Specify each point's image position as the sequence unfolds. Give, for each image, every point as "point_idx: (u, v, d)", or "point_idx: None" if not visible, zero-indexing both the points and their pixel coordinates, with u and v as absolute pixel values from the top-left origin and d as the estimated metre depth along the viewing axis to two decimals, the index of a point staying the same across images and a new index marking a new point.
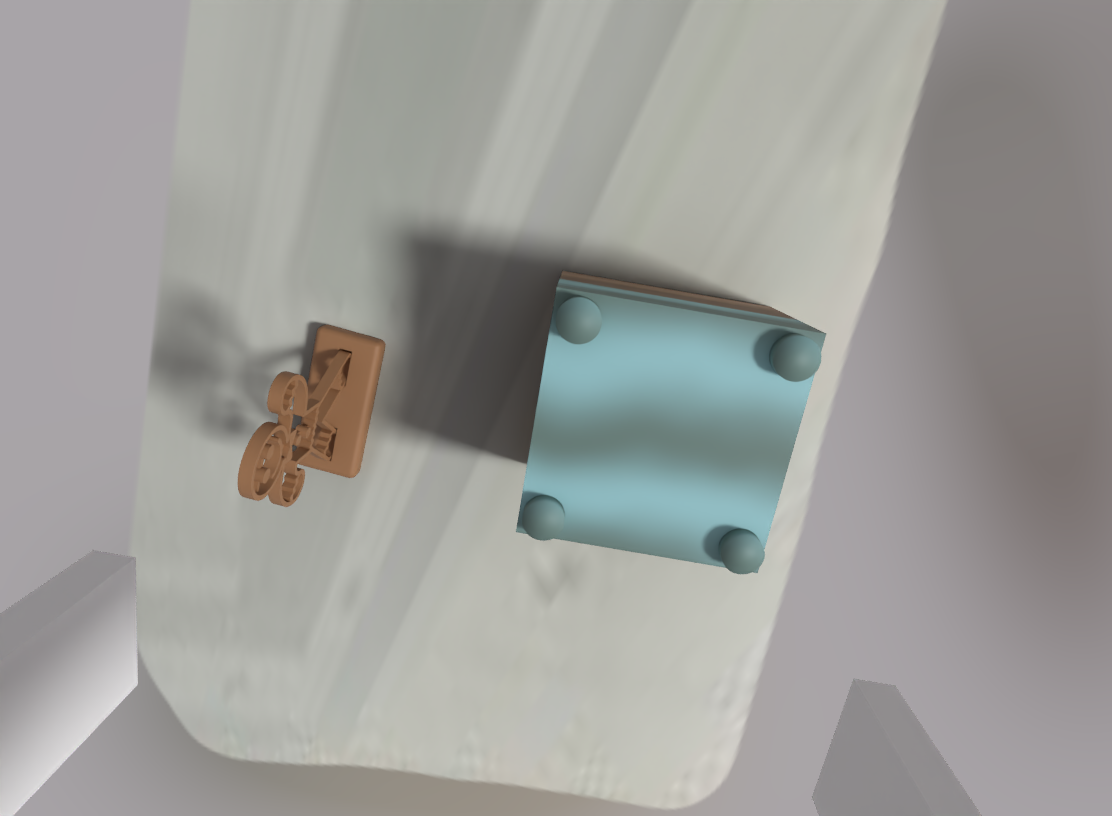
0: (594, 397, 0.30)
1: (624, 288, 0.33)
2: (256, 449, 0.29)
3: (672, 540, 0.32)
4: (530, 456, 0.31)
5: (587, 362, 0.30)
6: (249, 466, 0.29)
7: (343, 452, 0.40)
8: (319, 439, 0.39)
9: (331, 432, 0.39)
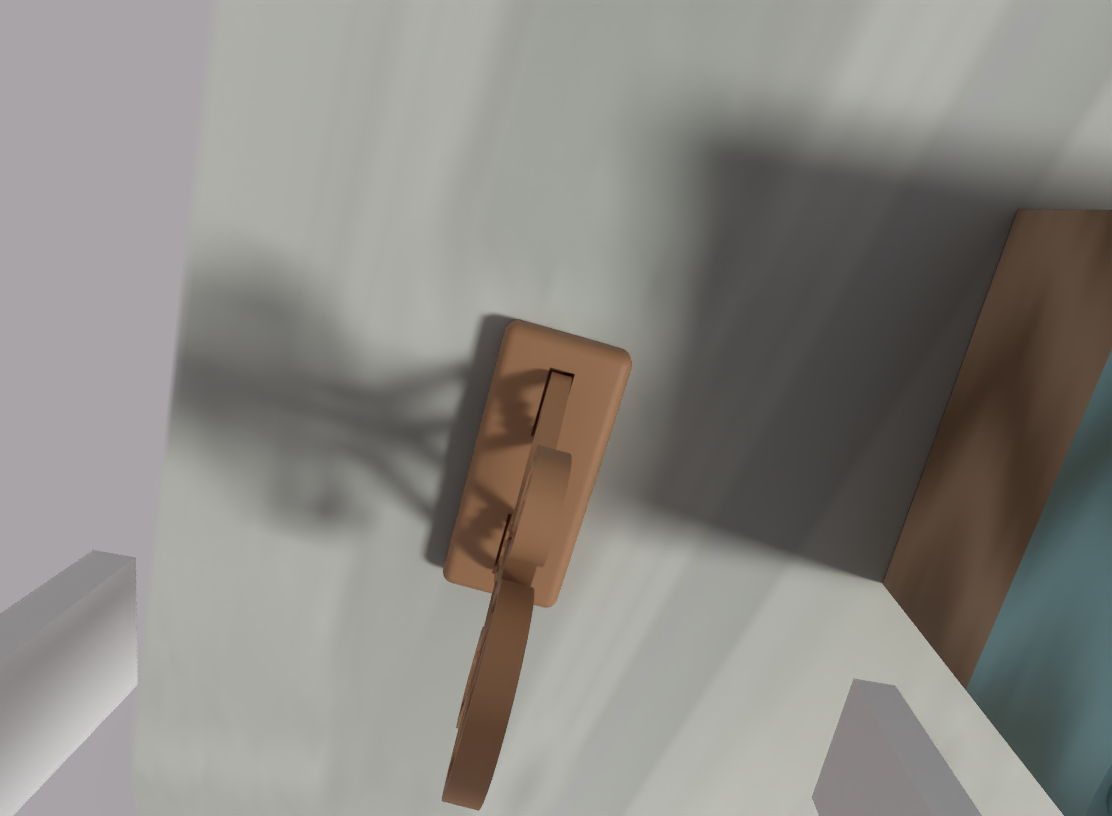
0: None
1: None
2: (503, 692, 0.10)
3: None
4: None
5: None
6: (488, 748, 0.10)
7: None
8: None
9: None
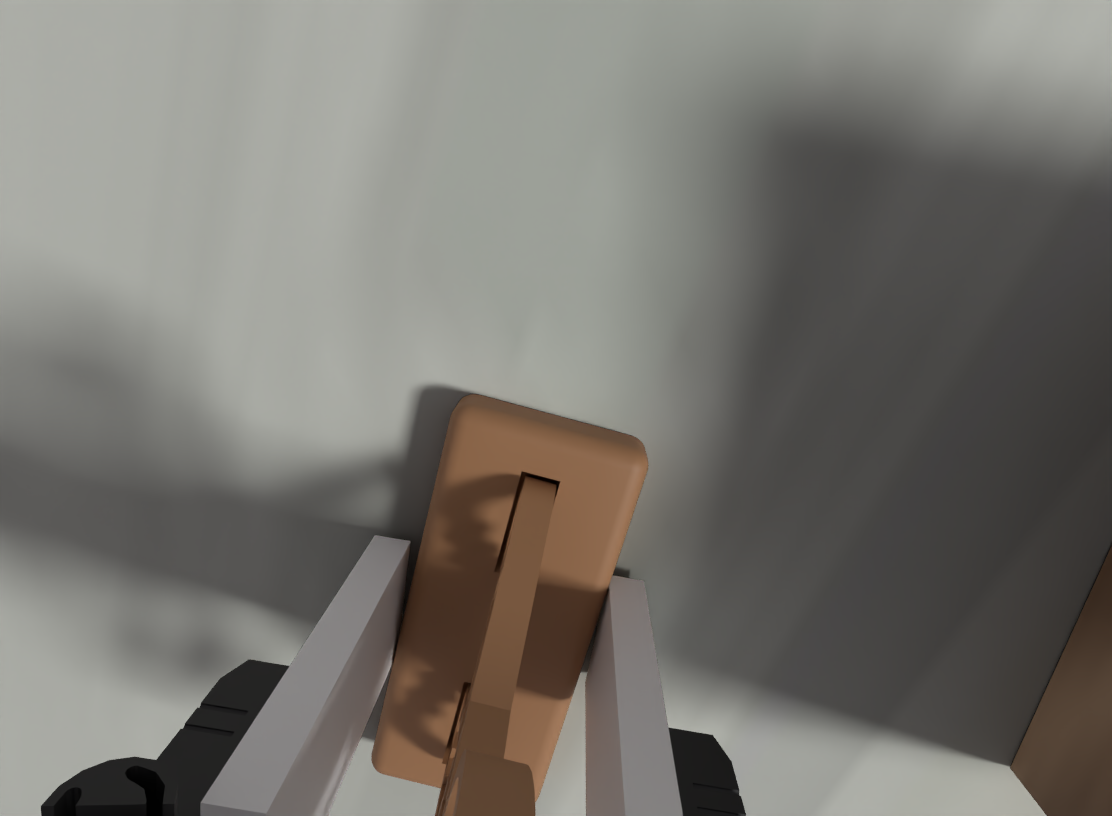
0: None
1: None
2: None
3: None
4: None
5: None
6: None
7: (512, 750, 0.14)
8: None
9: None
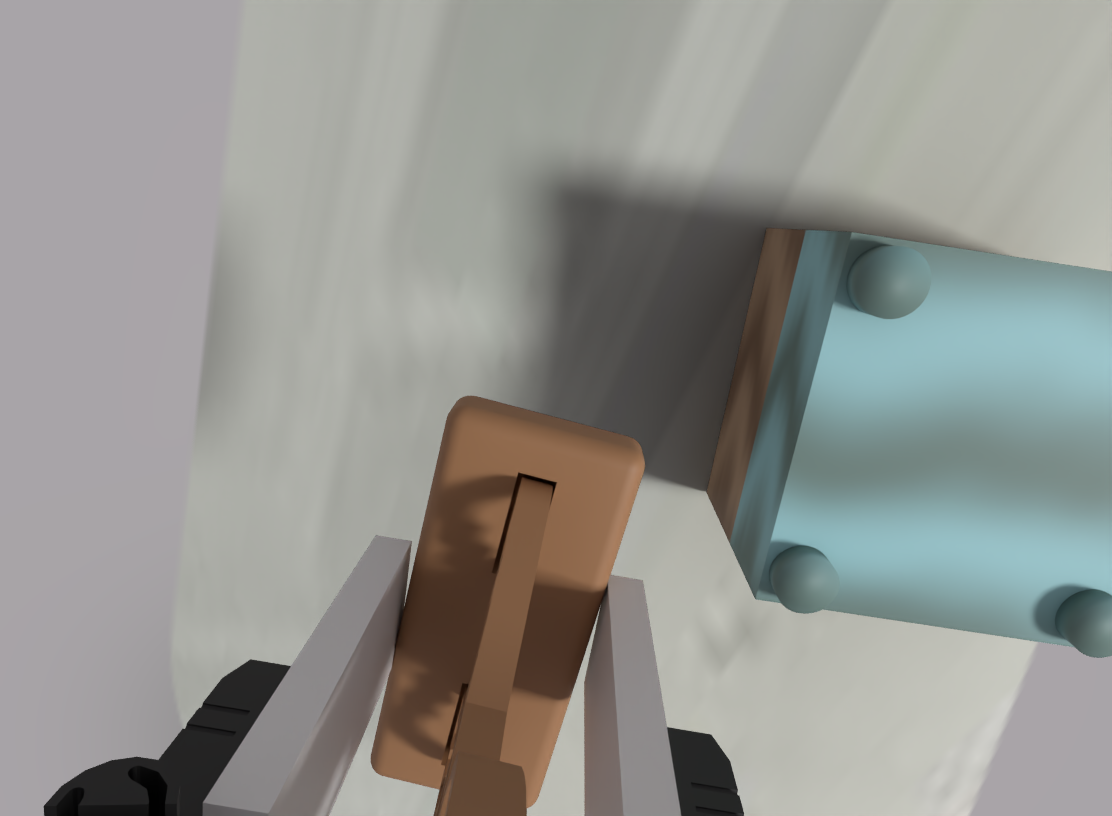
0: (892, 400, 0.20)
1: None
2: None
3: (987, 608, 0.22)
4: (786, 490, 0.21)
5: (887, 347, 0.20)
6: None
7: (510, 751, 0.14)
8: None
9: None
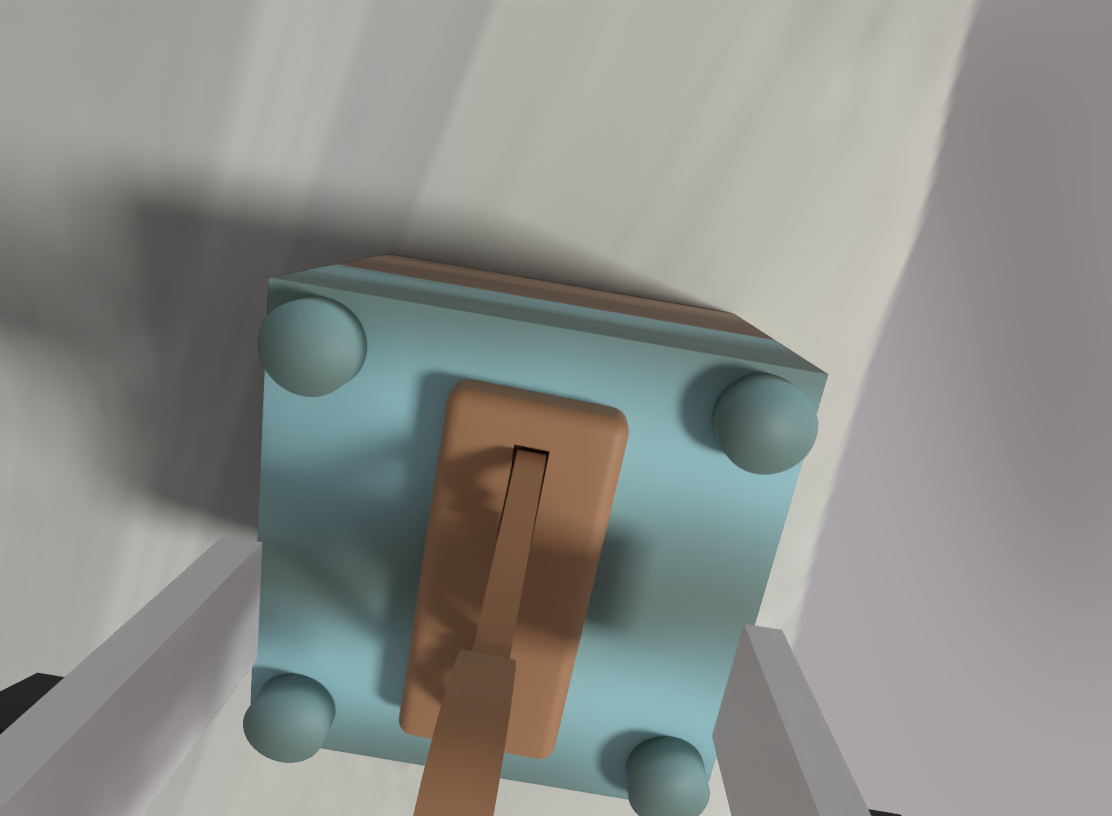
0: (368, 497, 0.15)
1: (463, 282, 0.18)
2: None
3: None
4: None
5: (347, 429, 0.15)
6: None
7: (525, 704, 0.15)
8: None
9: None
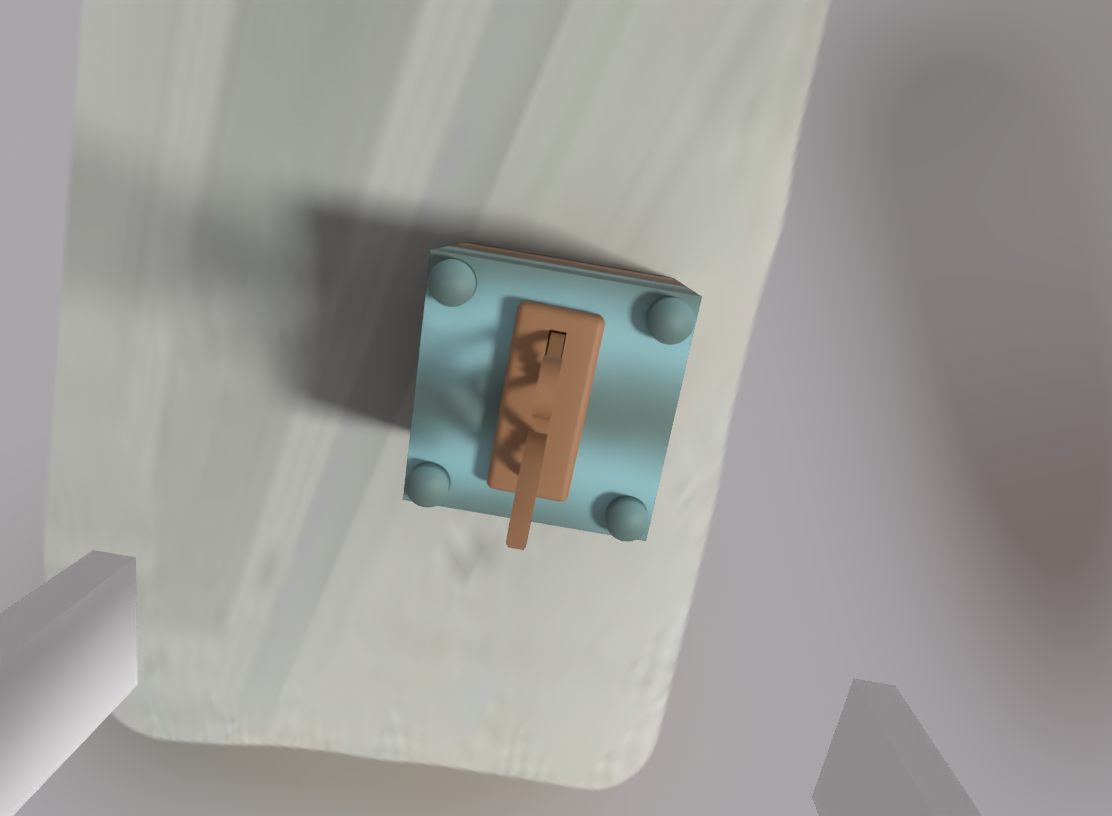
0: (474, 362, 0.30)
1: (516, 256, 0.33)
2: (534, 472, 0.19)
3: (559, 508, 0.32)
4: (413, 422, 0.31)
5: (464, 326, 0.30)
6: (528, 499, 0.19)
7: (553, 468, 0.30)
8: None
9: None
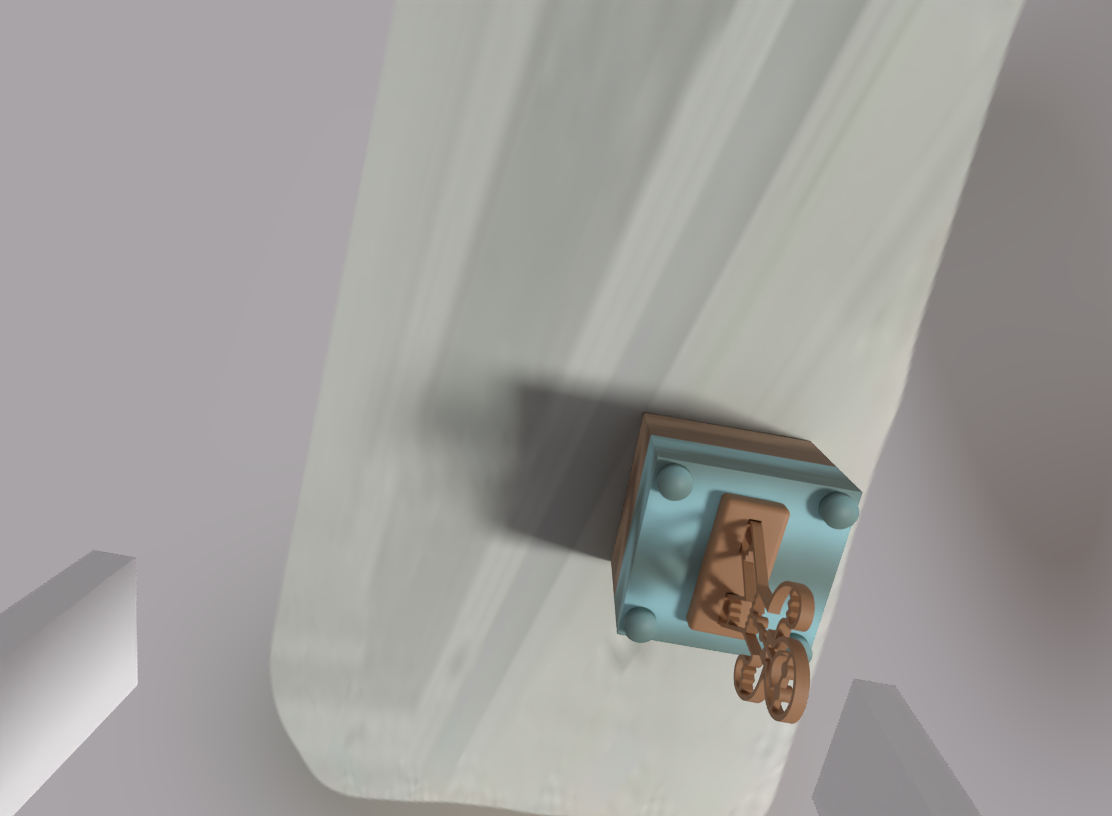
0: (682, 535, 0.39)
1: (700, 439, 0.42)
2: (805, 679, 0.28)
3: (739, 641, 0.41)
4: (631, 578, 0.40)
5: (678, 510, 0.39)
6: (803, 698, 0.28)
7: (742, 617, 0.39)
8: (732, 611, 0.38)
9: (740, 602, 0.38)
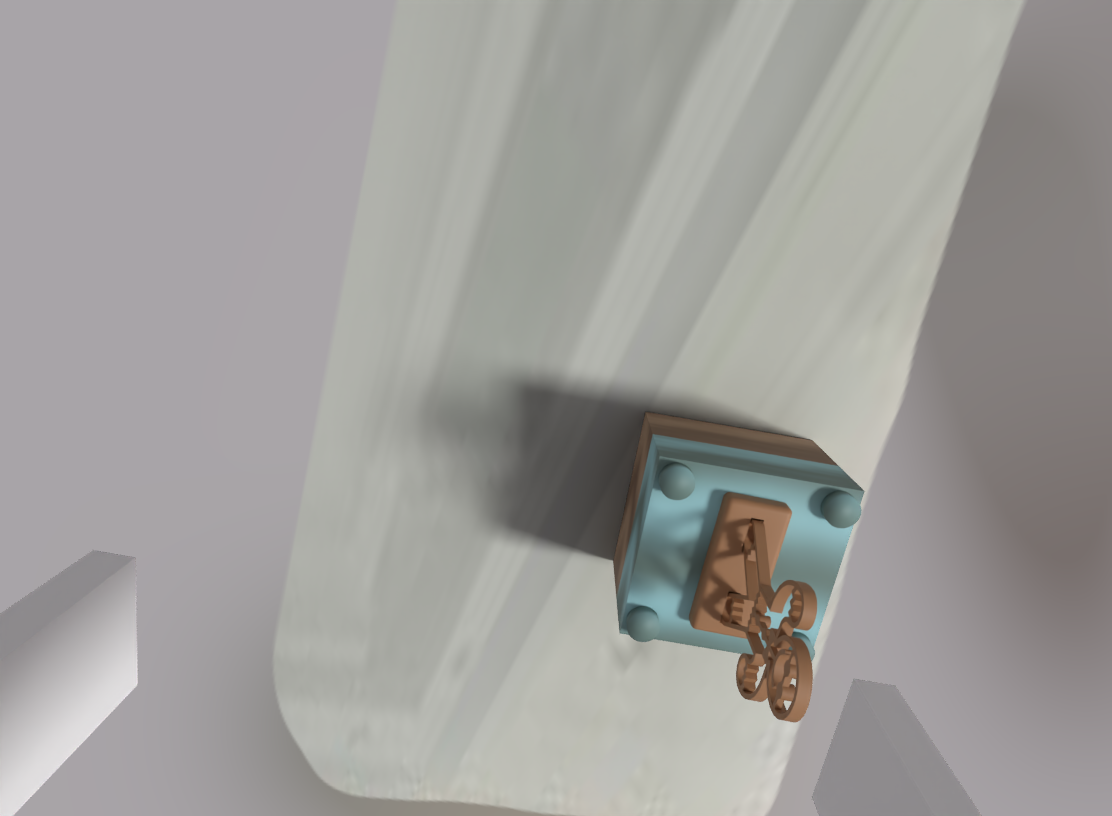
0: (685, 535, 0.39)
1: (701, 439, 0.43)
2: (808, 677, 0.28)
3: (742, 640, 0.41)
4: (633, 577, 0.40)
5: (680, 509, 0.39)
6: (805, 696, 0.28)
7: (745, 616, 0.39)
8: (734, 610, 0.38)
9: (743, 601, 0.38)
